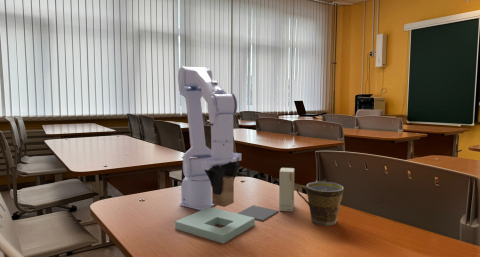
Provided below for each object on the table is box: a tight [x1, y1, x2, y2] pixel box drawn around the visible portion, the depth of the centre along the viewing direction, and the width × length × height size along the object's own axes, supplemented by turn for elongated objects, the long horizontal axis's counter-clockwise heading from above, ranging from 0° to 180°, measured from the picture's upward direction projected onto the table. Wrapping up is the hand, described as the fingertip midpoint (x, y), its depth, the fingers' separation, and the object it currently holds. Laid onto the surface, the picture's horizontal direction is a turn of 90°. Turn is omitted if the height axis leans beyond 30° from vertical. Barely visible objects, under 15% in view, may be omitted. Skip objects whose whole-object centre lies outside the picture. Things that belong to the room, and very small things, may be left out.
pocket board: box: [174, 206, 256, 244], centre depth 92 cm, size 16×14×2 cm
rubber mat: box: [236, 205, 279, 222], centre depth 102 cm, size 9×9×1 cm
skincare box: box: [278, 167, 295, 212], centre depth 106 cm, size 6×4×12 cm
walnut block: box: [212, 175, 235, 208], centre depth 90 cm, size 4×4×7 cm
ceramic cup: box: [296, 181, 345, 227], centre depth 96 cm, size 13×10×10 cm
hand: (222, 191), depth 90 cm, fingers closed on walnut block, 4 cm apart
